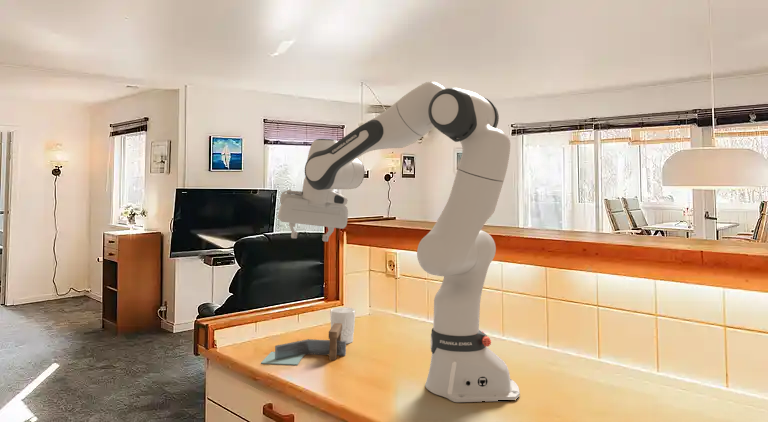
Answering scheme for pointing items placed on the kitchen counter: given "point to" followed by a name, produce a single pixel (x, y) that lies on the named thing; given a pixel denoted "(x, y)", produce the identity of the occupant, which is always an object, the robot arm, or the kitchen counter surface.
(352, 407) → the kitchen counter surface
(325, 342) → the rail
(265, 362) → the pad
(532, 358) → the kitchen counter surface
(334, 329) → the arch
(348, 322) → the white cup
